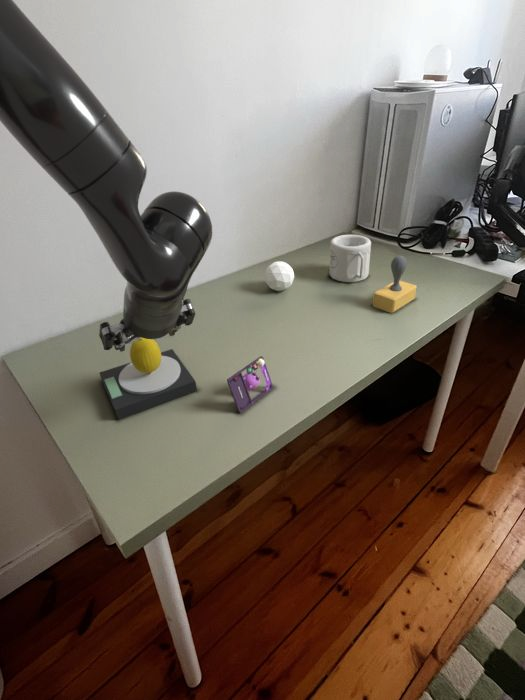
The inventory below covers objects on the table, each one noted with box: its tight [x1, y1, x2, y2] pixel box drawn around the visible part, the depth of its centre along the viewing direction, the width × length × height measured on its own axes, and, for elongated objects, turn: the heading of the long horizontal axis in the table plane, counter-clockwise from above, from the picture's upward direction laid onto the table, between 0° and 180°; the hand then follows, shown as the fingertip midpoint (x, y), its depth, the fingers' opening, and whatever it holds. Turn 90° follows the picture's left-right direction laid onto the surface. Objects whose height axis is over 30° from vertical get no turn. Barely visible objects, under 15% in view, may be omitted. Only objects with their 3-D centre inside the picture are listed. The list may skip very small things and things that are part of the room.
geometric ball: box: [264, 260, 295, 292], centre depth 114 cm, size 8×8×8 cm
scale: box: [99, 348, 198, 421], centre depth 83 cm, size 15×13×3 cm
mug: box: [329, 234, 372, 283], centre depth 118 cm, size 14×11×10 cm
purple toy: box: [226, 355, 274, 414], centre depth 79 cm, size 7×5×9 cm
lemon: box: [129, 338, 162, 373], centre depth 80 cm, size 6×6×8 cm
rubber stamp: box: [372, 255, 418, 314], centre depth 103 cm, size 10×6×12 cm, turn 133°
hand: (145, 338), depth 73 cm, fingers open, 8 cm apart
